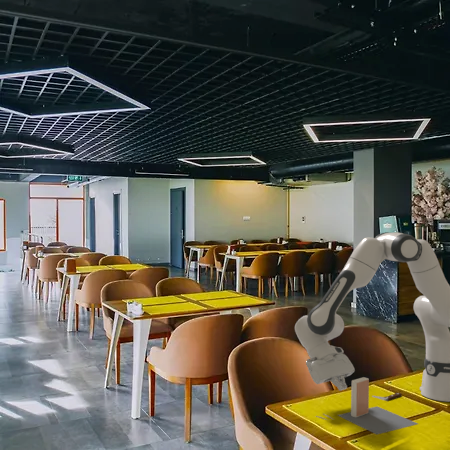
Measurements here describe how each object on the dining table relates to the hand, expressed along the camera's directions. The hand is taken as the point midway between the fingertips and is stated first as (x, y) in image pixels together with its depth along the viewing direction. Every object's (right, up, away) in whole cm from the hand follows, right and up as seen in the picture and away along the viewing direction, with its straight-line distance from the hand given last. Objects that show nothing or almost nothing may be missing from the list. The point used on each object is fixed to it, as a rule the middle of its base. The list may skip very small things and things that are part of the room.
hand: (343, 389), depth 175 cm
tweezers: (-6, -8, -12) cm, 16 cm away
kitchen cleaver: (+16, -9, +13) cm, 22 cm away
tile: (+4, -7, -5) cm, 10 cm away
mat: (+9, -8, -10) cm, 15 cm away
